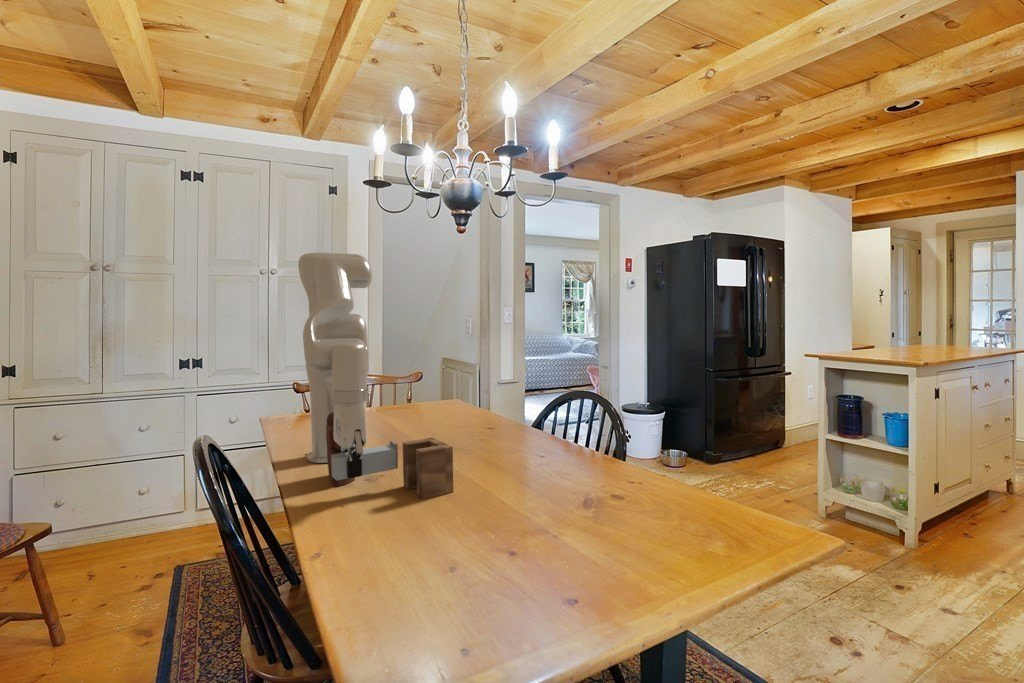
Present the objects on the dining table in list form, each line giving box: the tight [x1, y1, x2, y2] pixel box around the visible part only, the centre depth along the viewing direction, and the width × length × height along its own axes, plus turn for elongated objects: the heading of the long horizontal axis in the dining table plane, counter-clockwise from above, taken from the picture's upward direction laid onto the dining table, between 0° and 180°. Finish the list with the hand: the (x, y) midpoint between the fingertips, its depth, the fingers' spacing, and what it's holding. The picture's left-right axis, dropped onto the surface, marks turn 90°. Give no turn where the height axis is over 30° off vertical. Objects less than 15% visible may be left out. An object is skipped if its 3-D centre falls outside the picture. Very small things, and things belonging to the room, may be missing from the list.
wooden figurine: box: [326, 411, 356, 487], centre depth 132 cm, size 12×6×18 cm, turn 25°
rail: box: [331, 440, 399, 481], centre depth 121 cm, size 4×15×6 cm, turn 125°
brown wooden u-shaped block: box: [402, 437, 454, 500], centre depth 125 cm, size 11×8×11 cm
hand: (351, 473), depth 119 cm, fingers closed on rail, 3 cm apart
